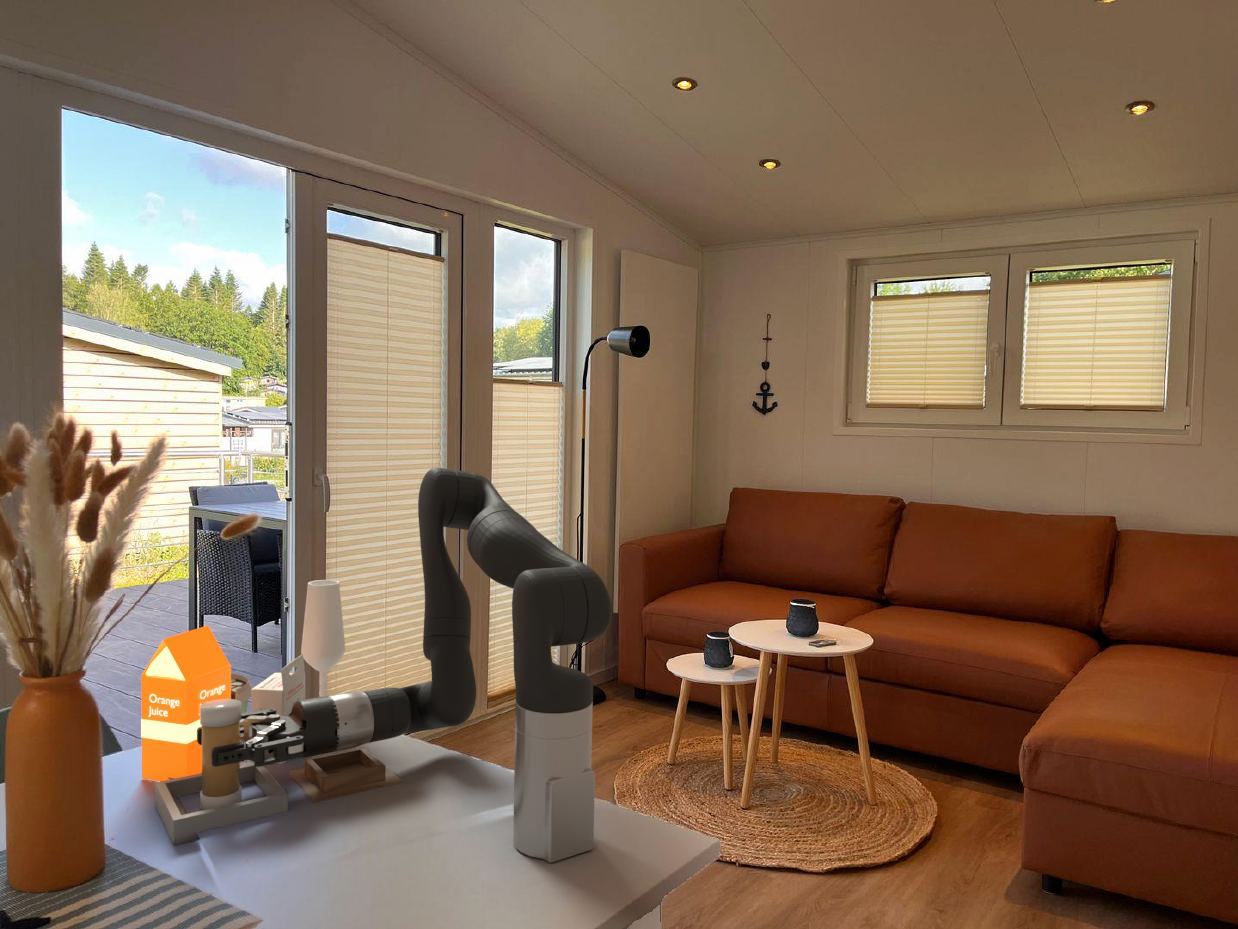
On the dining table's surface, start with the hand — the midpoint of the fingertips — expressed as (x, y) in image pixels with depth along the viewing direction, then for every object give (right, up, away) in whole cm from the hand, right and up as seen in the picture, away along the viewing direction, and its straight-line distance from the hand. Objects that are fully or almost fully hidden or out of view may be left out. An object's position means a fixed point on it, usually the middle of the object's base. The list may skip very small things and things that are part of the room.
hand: (204, 747), depth 113 cm
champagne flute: (+5, -7, +31) cm, 32 cm away
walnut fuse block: (+14, -9, +11) cm, 20 cm away
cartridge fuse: (+1, -8, +2) cm, 8 cm away
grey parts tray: (+1, -9, +2) cm, 9 cm away
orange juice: (-9, -8, +14) cm, 18 cm away
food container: (-8, -7, +25) cm, 28 cm away
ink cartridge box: (+2, -8, +19) cm, 21 cm away
